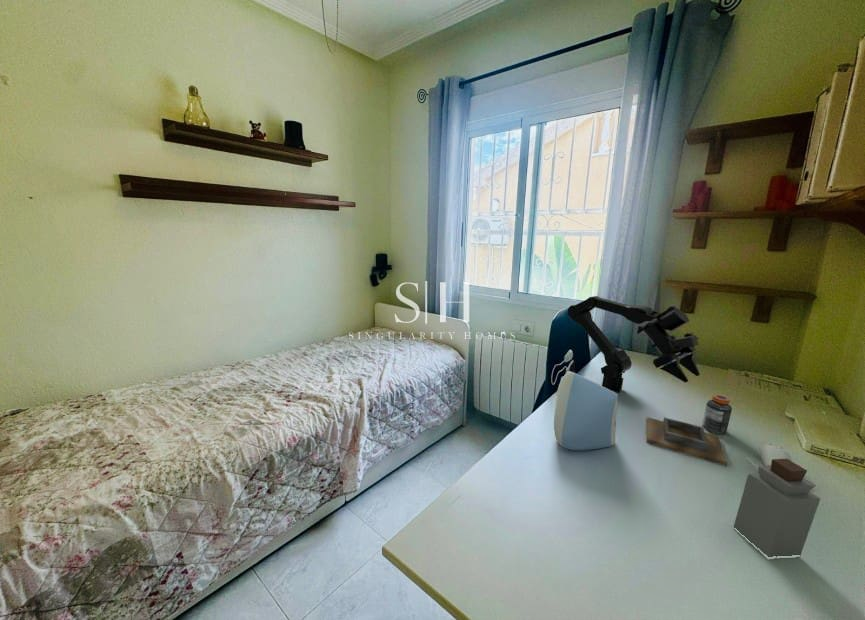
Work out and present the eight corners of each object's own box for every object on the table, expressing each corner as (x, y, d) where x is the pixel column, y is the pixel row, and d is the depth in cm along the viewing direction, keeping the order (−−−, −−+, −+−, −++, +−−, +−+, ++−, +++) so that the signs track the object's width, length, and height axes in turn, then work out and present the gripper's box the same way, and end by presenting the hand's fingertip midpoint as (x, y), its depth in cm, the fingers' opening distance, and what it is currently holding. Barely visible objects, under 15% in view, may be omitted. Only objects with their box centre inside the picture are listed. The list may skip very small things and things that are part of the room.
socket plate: (646, 442, 96) (648, 431, 96) (646, 420, 108) (648, 410, 107) (726, 466, 87) (729, 453, 86) (717, 439, 99) (719, 428, 98)
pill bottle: (716, 424, 106) (724, 392, 104) (731, 435, 100) (739, 402, 98) (697, 423, 107) (704, 391, 104) (710, 434, 101) (718, 401, 98)
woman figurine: (808, 452, 87) (814, 492, 74) (803, 466, 88) (808, 508, 76) (748, 433, 95) (744, 467, 82) (744, 446, 96) (740, 481, 84)
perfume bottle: (733, 528, 69) (754, 453, 64) (762, 526, 69) (785, 452, 65) (767, 559, 62) (793, 478, 58) (799, 557, 63) (827, 477, 58)
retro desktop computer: (571, 345, 104) (631, 359, 93) (572, 401, 114) (626, 420, 102) (533, 391, 89) (599, 414, 77) (538, 452, 98) (597, 480, 87)
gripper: (669, 329, 103) (706, 374, 96) (693, 321, 113) (728, 361, 106) (639, 346, 111) (671, 389, 104) (664, 338, 121) (695, 376, 114)
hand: (692, 378), depth 107 cm, fingers open, 9 cm apart
